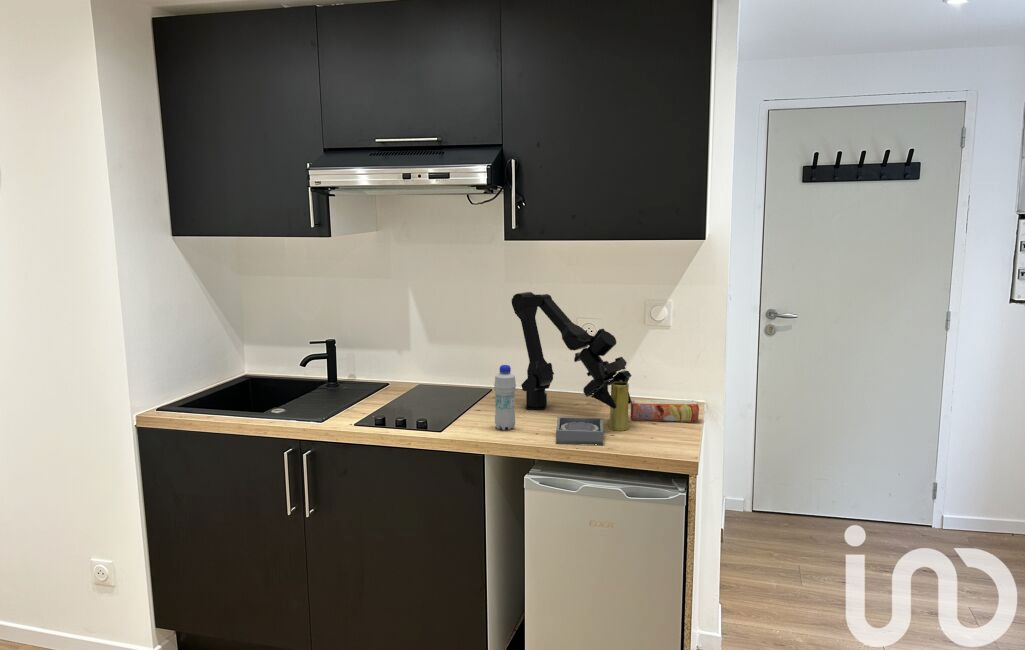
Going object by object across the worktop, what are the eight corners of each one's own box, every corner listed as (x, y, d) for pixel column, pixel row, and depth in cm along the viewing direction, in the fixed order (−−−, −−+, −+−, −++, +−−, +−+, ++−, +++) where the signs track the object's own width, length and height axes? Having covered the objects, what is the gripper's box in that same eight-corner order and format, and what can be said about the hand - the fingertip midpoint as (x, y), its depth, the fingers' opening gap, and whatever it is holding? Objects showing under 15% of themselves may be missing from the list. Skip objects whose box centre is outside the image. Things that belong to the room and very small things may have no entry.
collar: (560, 439, 220) (560, 432, 219) (561, 427, 230) (561, 421, 230) (598, 440, 219) (598, 433, 218) (597, 428, 229) (597, 422, 229)
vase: (630, 431, 231) (632, 385, 228) (610, 431, 230) (612, 386, 228) (626, 425, 237) (627, 380, 234) (606, 425, 236) (608, 381, 234)
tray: (555, 443, 219) (556, 430, 218) (557, 429, 232) (557, 416, 231) (603, 445, 217) (603, 432, 217) (601, 430, 231) (602, 418, 230)
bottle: (513, 431, 229) (514, 367, 226) (492, 430, 230) (492, 366, 227) (517, 425, 236) (517, 362, 232) (496, 424, 237) (496, 362, 233)
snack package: (630, 422, 241) (631, 401, 239) (630, 416, 247) (630, 396, 246) (698, 424, 238) (699, 404, 237) (696, 418, 244) (697, 398, 243)
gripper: (592, 354, 225) (621, 396, 220) (627, 345, 239) (656, 385, 233) (570, 375, 232) (599, 417, 226) (606, 365, 245) (633, 404, 240)
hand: (623, 405), depth 231 cm, fingers open, 8 cm apart
